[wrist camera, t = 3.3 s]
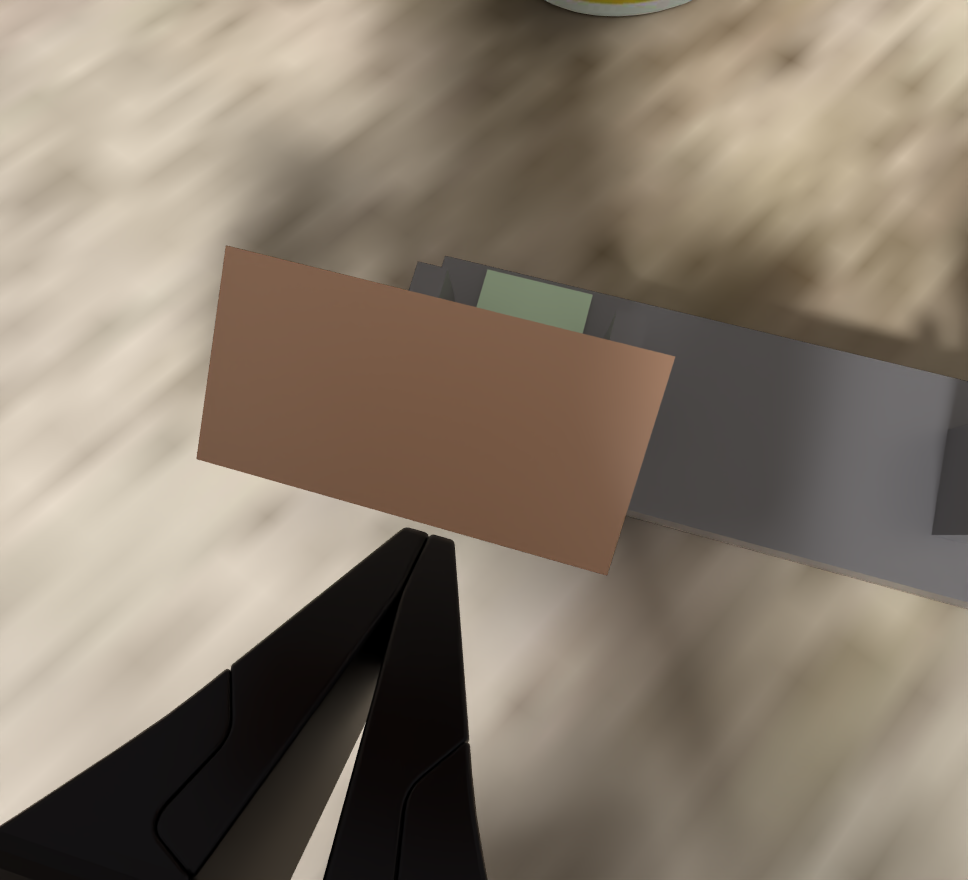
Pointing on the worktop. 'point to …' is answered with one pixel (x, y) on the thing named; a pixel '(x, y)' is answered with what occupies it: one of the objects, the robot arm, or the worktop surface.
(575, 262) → the worktop surface
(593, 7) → the air freshener
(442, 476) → the block
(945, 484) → the switch base
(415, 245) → the worktop surface
